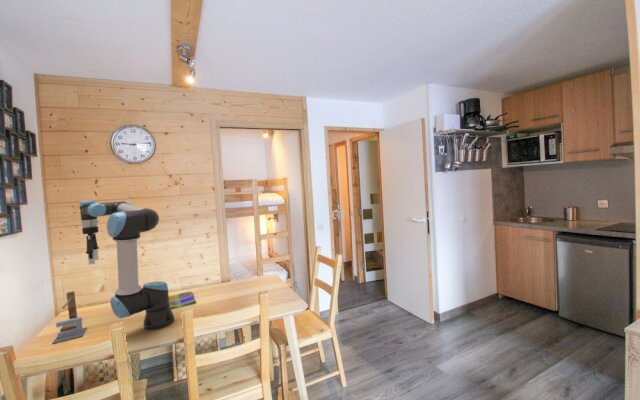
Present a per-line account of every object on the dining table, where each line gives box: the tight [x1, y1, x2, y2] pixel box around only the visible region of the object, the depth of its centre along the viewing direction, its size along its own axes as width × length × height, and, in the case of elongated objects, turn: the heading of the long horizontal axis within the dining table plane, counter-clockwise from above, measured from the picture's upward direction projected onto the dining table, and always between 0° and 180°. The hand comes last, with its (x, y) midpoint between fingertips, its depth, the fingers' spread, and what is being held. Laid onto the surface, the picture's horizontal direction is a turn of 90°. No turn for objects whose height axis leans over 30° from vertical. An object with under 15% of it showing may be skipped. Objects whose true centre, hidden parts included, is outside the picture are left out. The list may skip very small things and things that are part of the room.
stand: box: [59, 290, 83, 333], centre depth 169 cm, size 18×7×18 cm, turn 28°
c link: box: [55, 316, 84, 339], centre depth 158 cm, size 10×2×8 cm, turn 119°
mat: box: [52, 327, 88, 345], centre depth 158 cm, size 12×12×1 cm
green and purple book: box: [169, 291, 197, 311], centre depth 198 cm, size 18×24×3 cm
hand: (94, 262), depth 176 cm, fingers open, 13 cm apart
